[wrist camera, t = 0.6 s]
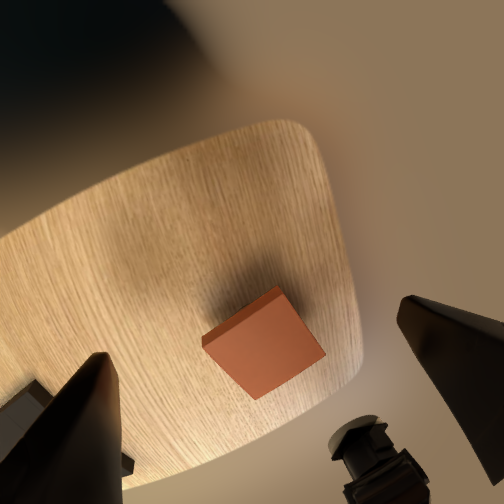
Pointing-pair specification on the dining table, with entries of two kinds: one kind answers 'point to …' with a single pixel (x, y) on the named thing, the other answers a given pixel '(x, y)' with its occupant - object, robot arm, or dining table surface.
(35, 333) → the dining table surface
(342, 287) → the dining table surface
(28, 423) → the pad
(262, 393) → the reddish orange rectangular block
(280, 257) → the dining table surface
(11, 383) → the dining table surface
